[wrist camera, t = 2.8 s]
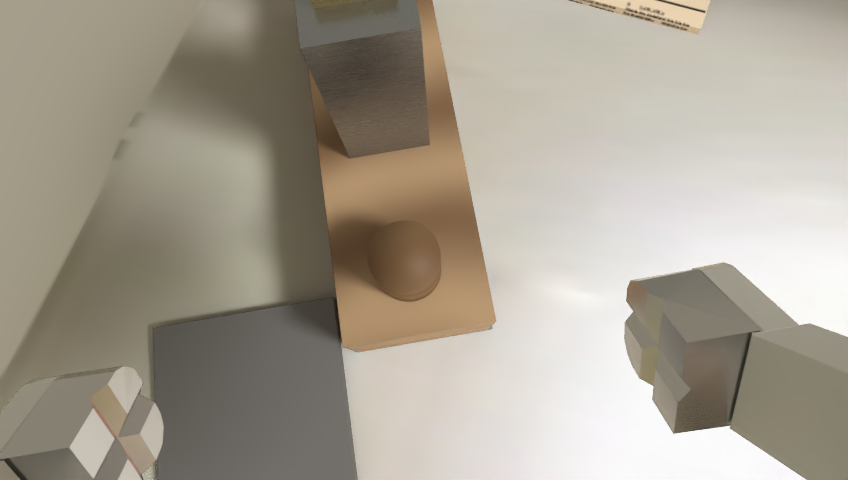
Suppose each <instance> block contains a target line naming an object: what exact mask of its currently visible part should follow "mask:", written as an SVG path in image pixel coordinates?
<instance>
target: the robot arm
mask: <svg viewBox="0 0 848 480" xmlns="http://www.w3.org/2000/svg"><path fill="white" fill-rule="evenodd" d="M626 301H627V303H628V304H629V306H630V307H631V309H632V310H633V311H634V312H633V313H632V314H631V315H630V317H629V318H628V319H627V320H626V322H625V335H624V339H625V344H626V349H627V354H628V356H629V359H630V361H631V364H632V366H633V368H634V370H635V371H636V373H637V375H638V377H639V378H640V379H642V380H644V381H645V382H647V383H649V384H651V385H653V386H654V388H653V398H652V400H653V401H654V403H655V404H656V406H657V408H658V409H659V411H660V413H661V414H662V416H663V417H664V419H665V421H666V422H667V424H668V425H669V427H670V429H671V430H672V432H673V434H674V433H681V432H688V431H695V430H702V429H709V428H716V427H723V426H730V425H731V426H730V429H732V430H733V431H735V432H736V433H738V434H739V435H741V436H742V437H744V438H745V439H747V440H748V441H750V442H751V443H753V444H754V445H756V446H757V447H759V448H760V449H762V450H763V451H765V452H766V453H768V454H769V455H771V456H772V457H774V458H775V459H777V460H778V461H779V462H781V463H782V464H784V465H785V466H787V467H788V468H790V469H791V470H793V471H794V472H796V473H797V474H799V475H800V476H802V477H803V478H805V479H806V480H848V337H846V336H843V335H840V334H838V333H835V332H832V331H829V330H826V329H824V328H821V327H818V326H815V325H813V324H804V325H799V324H797V323H796V322H795V321H794V320H793V319H792V318H791V317H790V316H789V315H787V314H786V313H785V312H784V311H783V310H782V309H781V308H780V307H778V306H777V305H776V304H775V303H774V302H773V301H772V300H771V299H769V298H768V297H767V296H766V295H765V294H764V293H763V292H762V291H761V290H759V289H758V288H757V287H756V286H755V285H754V284H753V283H752V282H750V281H749V280H748V279H747V278H746V277H745V276H744V275H743V274H741V273H740V272H739V271H738V270H737V269H736V268H735V267H734V266H732V265H730V264H727V263H719V264H714V265H709V266H704V267H699V268H693V269H692V270H687V271H682V272H676V273H670V274H665V275H659V276H653V277H647V278H642V279H636V280H631V281H630V283H629V286H628V288H627V298H626ZM142 385H143V382H142V380H141V379H140V377H139V376H138V374H137V373H136V371H135V370H134V368H130V367H126V366H121V367H114V368H107V369H100V370H94V371H87V372H80V373H73V374H66V375H63V376H55V377H49V378H43V379H36V380H33V381H31V382H29V383H26V384H24V385H22V386H21V388H20V389H19V390H18V391H17V393H16V394H15V395H14V396H13V398H12V399H11V400H10V401H9V403H8V404H7V405H6V406H5V408H4V409H3V410H2V412H1V413H0V480H143V477H142V475H141V474H142V473H143V472H144V471H146V470H147V469H148V468H149V467H150V466H151V465H152V464H153V463H154V462H155V461H156V460H157V457H158V454H159V452H160V449H161V447H162V444H163V430H164V425H163V421H162V417H161V413H160V411H159V409H158V407H157V406H156V404H155V402H153V401H152V400H150V399H148V398H146V397H144V396H142V395H141V394H140V391H141V388H142Z"/></svg>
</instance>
